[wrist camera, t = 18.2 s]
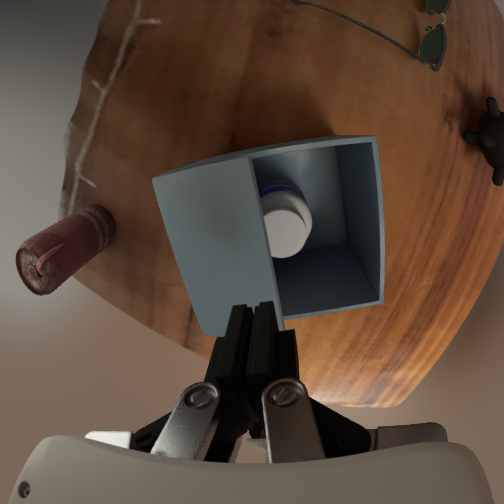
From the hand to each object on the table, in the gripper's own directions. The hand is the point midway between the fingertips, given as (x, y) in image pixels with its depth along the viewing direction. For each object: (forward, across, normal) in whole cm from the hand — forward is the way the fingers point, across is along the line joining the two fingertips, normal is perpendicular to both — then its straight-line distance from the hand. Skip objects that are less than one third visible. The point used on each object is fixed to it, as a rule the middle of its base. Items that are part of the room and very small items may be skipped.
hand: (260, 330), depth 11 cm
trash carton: (+21, -1, -1) cm, 21 cm away
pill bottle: (+20, -1, 0) cm, 21 cm away
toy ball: (+21, -30, -7) cm, 37 cm away
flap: (+7, +3, 0) cm, 7 cm away
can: (+21, +23, -3) cm, 31 cm away
